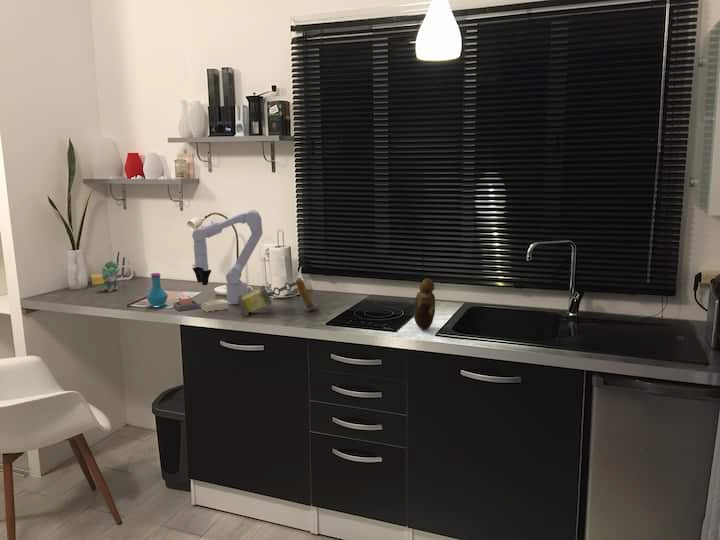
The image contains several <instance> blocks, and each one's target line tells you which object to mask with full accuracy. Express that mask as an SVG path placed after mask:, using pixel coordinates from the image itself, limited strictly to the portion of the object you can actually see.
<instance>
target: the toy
mask: <svg viewBox="0 0 720 540" xmlns="http://www.w3.org/2000/svg"><path fill="white" fill-rule="evenodd" d="M101 269H102V271H101V277H102V280H103V284H102V285H101V290H102V292H105V291H104V290H105V287H107V291H108V293H111V292H112V291H114V290H115V289H116V290H118V288H119V285H118V281H117V280H118V275H117V273H118V272H120V268H119V267H118V264H117V263H115V262H114V261H112V260H111V261H110V260H109V261H108V262H106V263H105V264H104V266H102V267H101Z"/></svg>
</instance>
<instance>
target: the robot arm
mask: <svg viewBox="0 0 720 540" xmlns="http://www.w3.org/2000/svg"><path fill="white" fill-rule="evenodd" d="M245 223H246V225H247V226H248V227H249V229H250V232H251V234H250V236H249V238H248V239H247V241H246V244H245V245H244V247H243V249H242V251H241V252H240V254H239V256H238V258H237V259H236V261H235V263H234V265H233V266H232V267H231V268H230V269H229V270H228V271H227V274H225V280H226V282H225V285H226V299H224V300H225V301H226V302H228V305H237V304H238V305H239V303H238V301H237V298H238V296H240V295H242V297H243V296H245V295H248V294H249V287H248V284H247V283H246V282H242V280H241V277H242V272H243V270H244V268H245V266H246V264H247V263H248V261H249V260H250V257H251V255H252V254H253V252H254V251H255V248H256V247H257V245H258V244H259V241H260V239H261V238H262V236H263V235H264V234H263V233H264V232H263V221H262V216H261V215H260V213H259V212H258V211H257V210H256V209H251V210H249V211H245V212H241V213H237V214H236V215H233V216H231V217H230V218H229V217H228V218H227V219H225V220H223V221H221V222H219V221H216V220H215V221H214V220H212V221H210V222H209V223H208V224H205V225H201V226H200V227H197V228H196V229H195V230H194V231H193V232H192V234H191V236H192V239H193V253H194V264H192V270H193V272H194V274H195V277H196V280H197V283H199V284H200V283H201V284H202V286H208V284H209V278H210V276H211V273H212V269H209V262H208V246H207V245H208V244H207V239H210V238H212V237H214V236H216V235H219V234H221V233H222V231H223V229H225V228H229V227H231V226H234V225H237V224H242V225H244V224H245Z"/></svg>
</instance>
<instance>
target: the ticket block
mask: <svg viewBox="0 0 720 540" xmlns="http://www.w3.org/2000/svg"><path fill="white" fill-rule="evenodd" d="M225 300H226V299H224V298H223V299H216V300H208V301H202V302H200V308H201V310H202V311H204V312H205V311H206V312H205V313H209V311H211V312H216V311H215V310H218V311H224V309H225V310H229V304H228V302H226V301H225Z"/></svg>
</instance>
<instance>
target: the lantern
mask: <svg viewBox="0 0 720 540" xmlns="http://www.w3.org/2000/svg"><path fill="white" fill-rule="evenodd" d="M287 285H288V286H287ZM295 286H296V287H297V289H298V291H299V294H300V296H301V298H302V300H303V302H304V304H305V305H304V306H303V309H304V312H310V311H312V310H315V309H317V308H318V306H317V303H316V302H312V300H311V297H310V295H309V293H308V290H307V287H306V285H305V284H304V280H303V279H302V278H301V277H299V278H298V279H297V278H296V279H295V281H294V282H292V283H290V282H289V283H288V282H285V283H284V285H283V286H281V288H278V287H277V286H276V287H275V286H274V288H273V291H270V292H269V293H268V291H267V289H266V286H265V285H261V286H260V287H259V289H257V290H255V291H253V292H250V293H248V295H245V296H243V297H242V295H240V296H238V298H237V301H238V306H239V307H240V309H241V312H242V313H243V315H244V317H247V316H249V314H250V313H251V312H252V311H255V310H258V309H260V308H262V307H264V306H266V307H270V306H272V305H273V304H272V299H271V298H270V297H272V296H273V295H276V296H277V297H280V294H281V292H283V291H288V292H290V291H291V290H292V287H295ZM288 287H289V288H288ZM276 290H277V291H278V293H276ZM246 315H247V316H246Z"/></svg>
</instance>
